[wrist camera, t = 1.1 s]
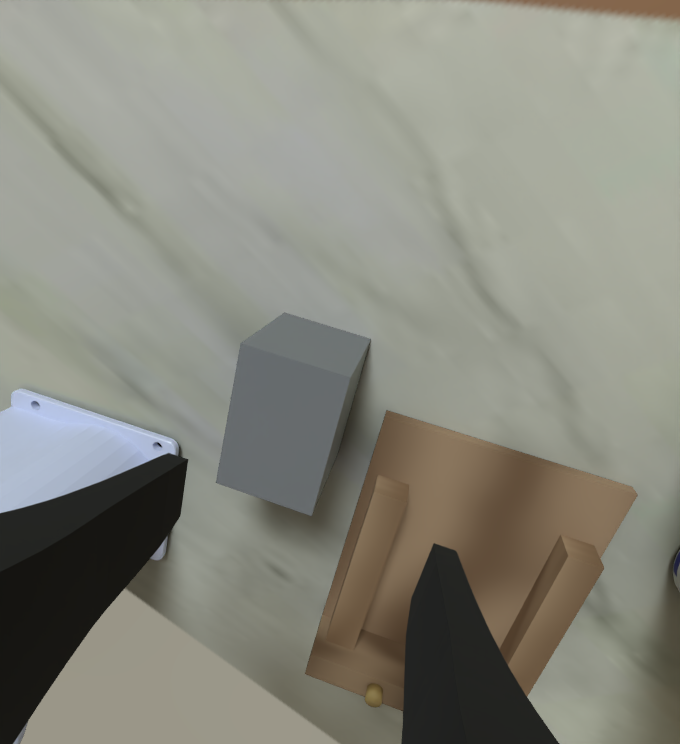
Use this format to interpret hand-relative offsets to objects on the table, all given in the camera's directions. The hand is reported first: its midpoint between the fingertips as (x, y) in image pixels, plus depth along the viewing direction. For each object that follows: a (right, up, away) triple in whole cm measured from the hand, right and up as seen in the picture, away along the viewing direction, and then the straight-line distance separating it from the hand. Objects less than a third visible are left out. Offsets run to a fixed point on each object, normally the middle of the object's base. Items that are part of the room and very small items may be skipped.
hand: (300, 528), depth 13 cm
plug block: (0, +4, +9) cm, 10 cm away
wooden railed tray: (+7, -5, +10) cm, 13 cm away
